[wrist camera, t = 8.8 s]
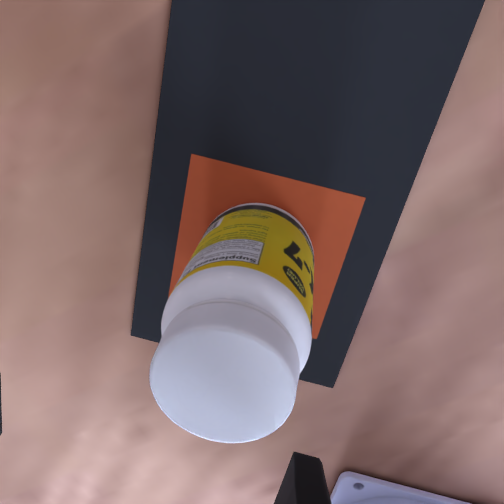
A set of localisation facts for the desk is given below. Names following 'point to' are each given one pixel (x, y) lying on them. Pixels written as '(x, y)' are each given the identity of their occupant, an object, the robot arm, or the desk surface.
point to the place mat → (297, 138)
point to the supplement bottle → (237, 327)
